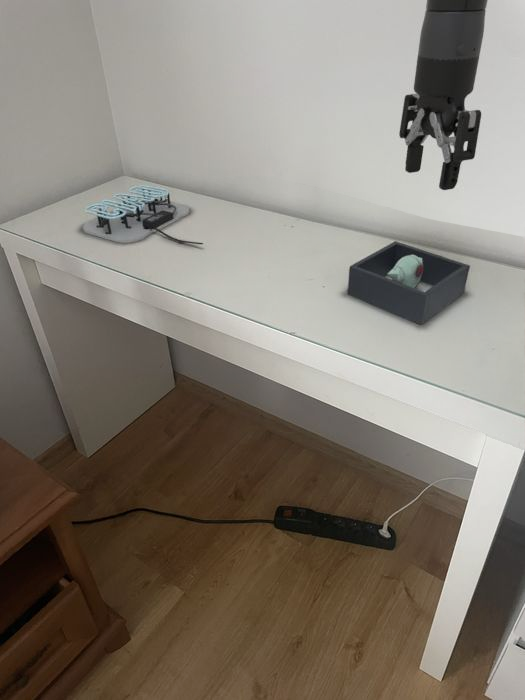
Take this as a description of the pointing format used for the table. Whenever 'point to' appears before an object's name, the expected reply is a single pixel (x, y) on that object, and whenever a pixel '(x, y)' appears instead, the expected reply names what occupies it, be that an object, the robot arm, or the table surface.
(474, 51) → the robot arm
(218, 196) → the table surface
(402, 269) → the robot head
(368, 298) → the bin
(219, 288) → the table surface
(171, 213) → the neon sign
